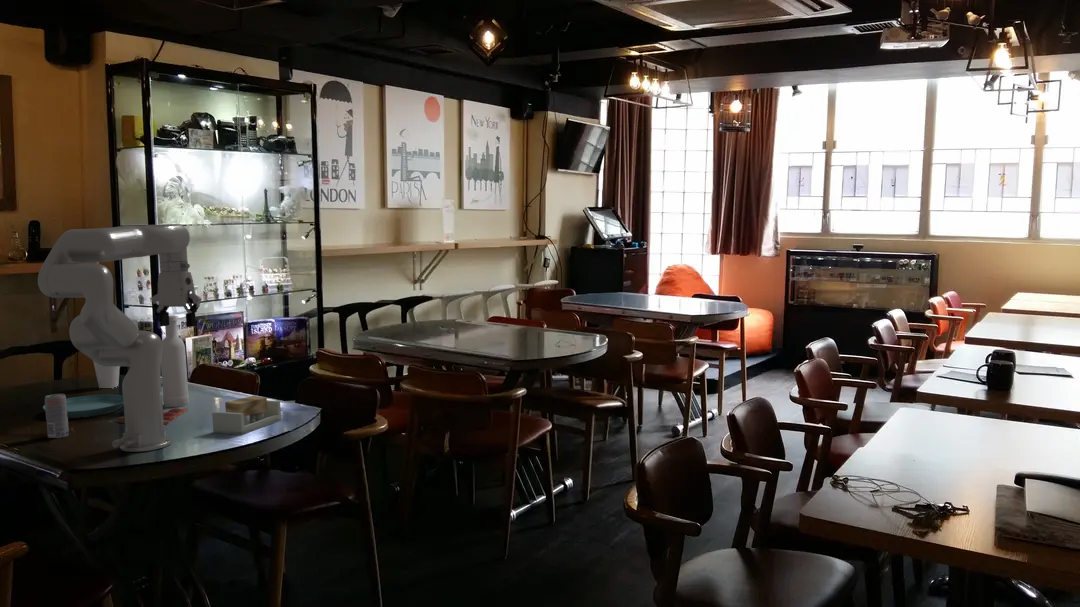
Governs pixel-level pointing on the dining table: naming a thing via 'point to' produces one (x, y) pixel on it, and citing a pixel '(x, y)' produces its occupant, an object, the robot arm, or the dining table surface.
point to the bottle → (174, 367)
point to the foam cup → (107, 375)
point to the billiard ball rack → (164, 415)
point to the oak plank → (247, 405)
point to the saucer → (92, 405)
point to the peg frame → (246, 420)
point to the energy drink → (56, 416)
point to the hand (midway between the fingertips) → (177, 326)
